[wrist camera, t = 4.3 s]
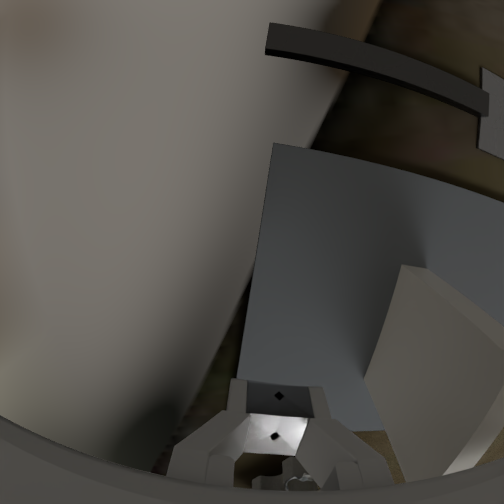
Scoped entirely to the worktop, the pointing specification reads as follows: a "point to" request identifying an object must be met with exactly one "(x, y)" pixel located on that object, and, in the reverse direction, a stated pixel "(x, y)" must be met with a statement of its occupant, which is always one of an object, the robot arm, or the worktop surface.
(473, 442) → the tile
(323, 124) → the worktop surface
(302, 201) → the mat
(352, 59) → the turner
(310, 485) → the egg carton
